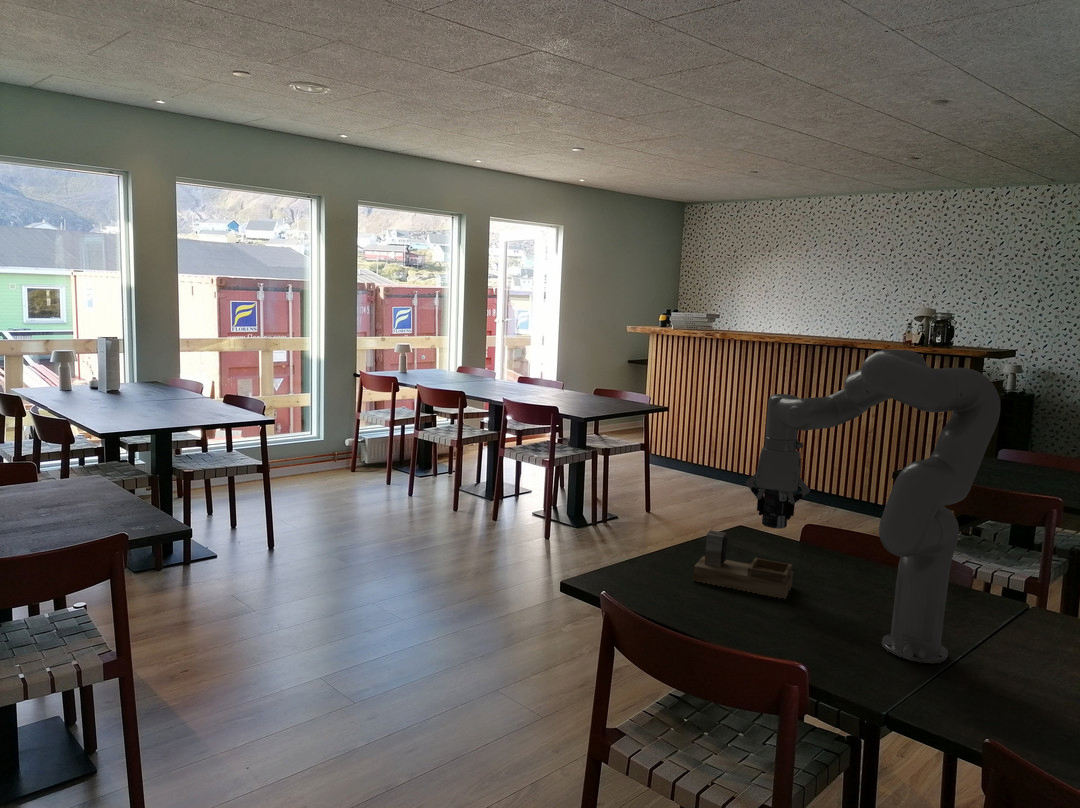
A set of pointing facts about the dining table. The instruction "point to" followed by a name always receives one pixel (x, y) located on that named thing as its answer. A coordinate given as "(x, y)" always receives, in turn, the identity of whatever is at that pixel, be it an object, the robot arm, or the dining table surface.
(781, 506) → the pill bottle
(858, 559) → the dining table surface
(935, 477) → the robot arm
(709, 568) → the wooden holder
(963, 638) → the dining table surface
